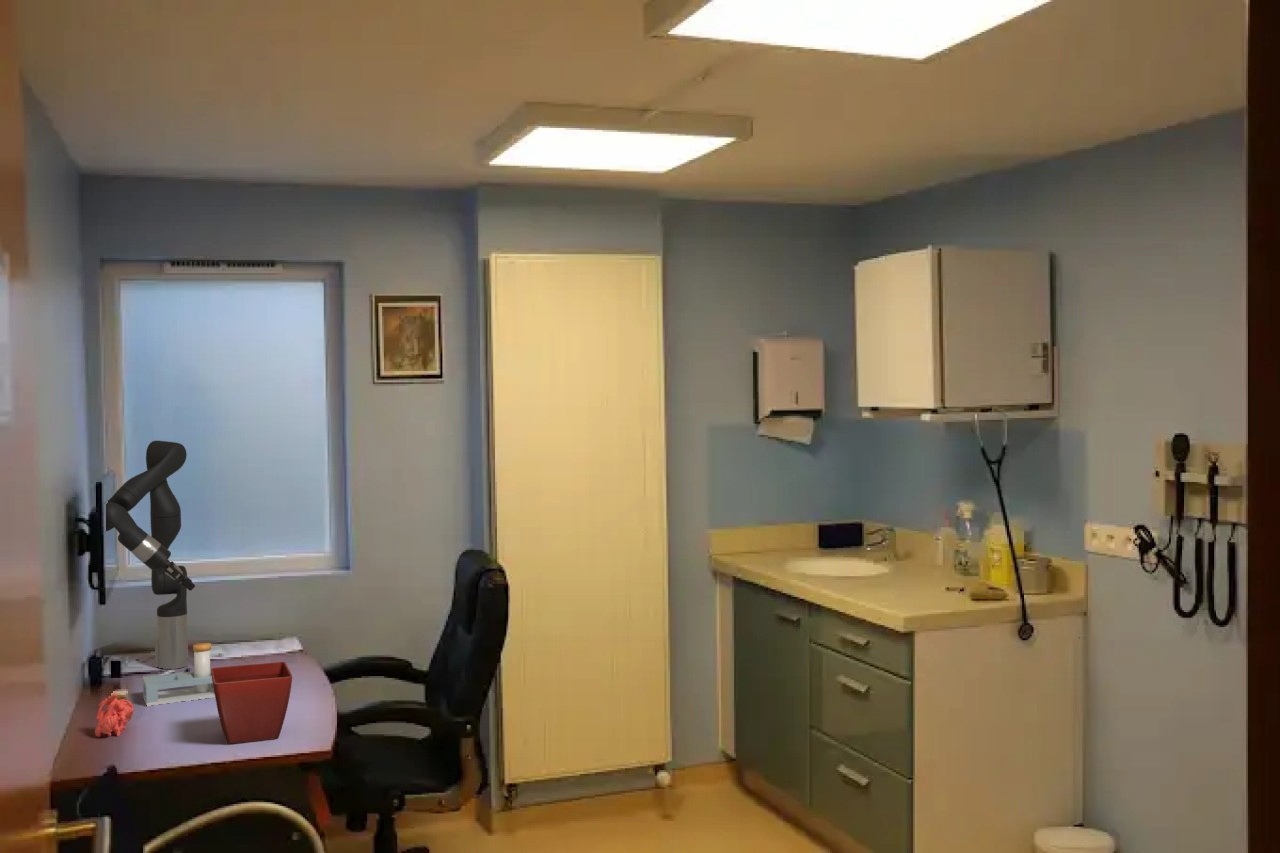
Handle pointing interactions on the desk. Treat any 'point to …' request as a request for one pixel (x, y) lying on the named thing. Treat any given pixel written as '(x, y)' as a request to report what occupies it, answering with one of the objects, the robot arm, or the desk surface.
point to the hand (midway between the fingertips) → (191, 586)
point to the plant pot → (252, 700)
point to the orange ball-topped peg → (201, 665)
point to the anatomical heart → (113, 716)
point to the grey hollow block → (172, 681)
